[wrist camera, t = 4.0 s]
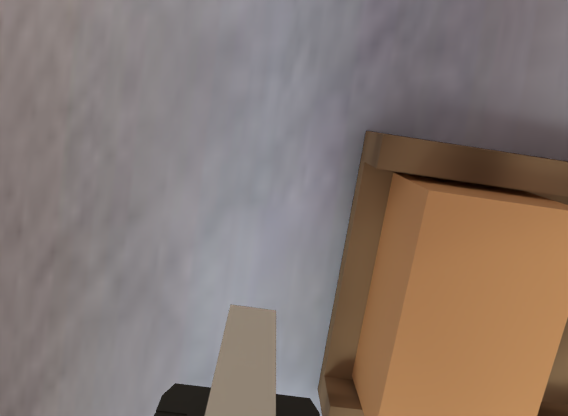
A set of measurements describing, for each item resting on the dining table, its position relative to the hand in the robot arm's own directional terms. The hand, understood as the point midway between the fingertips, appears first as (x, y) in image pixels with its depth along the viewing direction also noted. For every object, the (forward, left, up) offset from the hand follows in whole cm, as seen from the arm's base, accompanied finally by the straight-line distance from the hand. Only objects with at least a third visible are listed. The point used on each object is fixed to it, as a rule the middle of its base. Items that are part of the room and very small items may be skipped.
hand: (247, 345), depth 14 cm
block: (+10, 0, -8) cm, 13 cm away
